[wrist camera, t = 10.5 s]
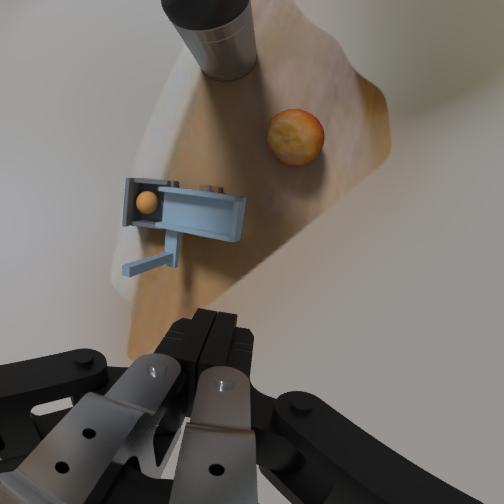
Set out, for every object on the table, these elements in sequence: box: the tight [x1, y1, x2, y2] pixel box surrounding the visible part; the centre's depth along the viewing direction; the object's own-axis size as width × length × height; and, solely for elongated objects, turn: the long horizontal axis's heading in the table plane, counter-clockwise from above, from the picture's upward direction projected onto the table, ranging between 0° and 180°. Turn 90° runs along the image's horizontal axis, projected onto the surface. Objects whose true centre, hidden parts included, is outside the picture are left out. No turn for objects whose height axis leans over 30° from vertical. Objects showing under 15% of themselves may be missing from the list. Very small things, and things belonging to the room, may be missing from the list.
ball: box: [136, 191, 158, 214], centre depth 43 cm, size 4×4×4 cm
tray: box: [123, 178, 178, 230], centre depth 43 cm, size 7×7×5 cm
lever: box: [122, 187, 247, 277], centre depth 36 cm, size 11×12×10 cm
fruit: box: [267, 109, 324, 166], centre depth 39 cm, size 8×8×8 cm
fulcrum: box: [198, 185, 223, 238], centre depth 42 cm, size 7×3×6 cm, turn 172°
